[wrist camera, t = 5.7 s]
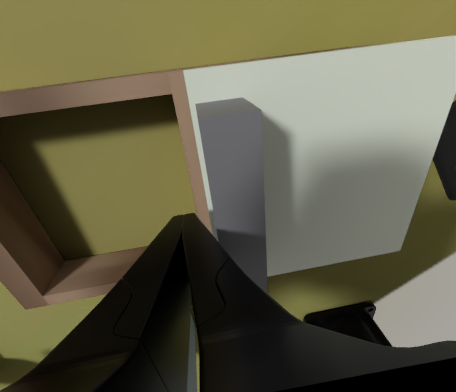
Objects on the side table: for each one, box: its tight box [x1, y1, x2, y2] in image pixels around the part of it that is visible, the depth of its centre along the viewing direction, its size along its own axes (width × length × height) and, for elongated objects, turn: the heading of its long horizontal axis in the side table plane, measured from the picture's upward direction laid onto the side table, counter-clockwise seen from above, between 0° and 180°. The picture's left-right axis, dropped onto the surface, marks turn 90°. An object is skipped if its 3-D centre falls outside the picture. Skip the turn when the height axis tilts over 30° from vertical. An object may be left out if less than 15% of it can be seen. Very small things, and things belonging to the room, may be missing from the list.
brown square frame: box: [0, 43, 390, 309], centre depth 12 cm, size 18×10×2 cm, turn 96°
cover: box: [183, 35, 456, 294], centre depth 10 cm, size 10×10×3 cm
